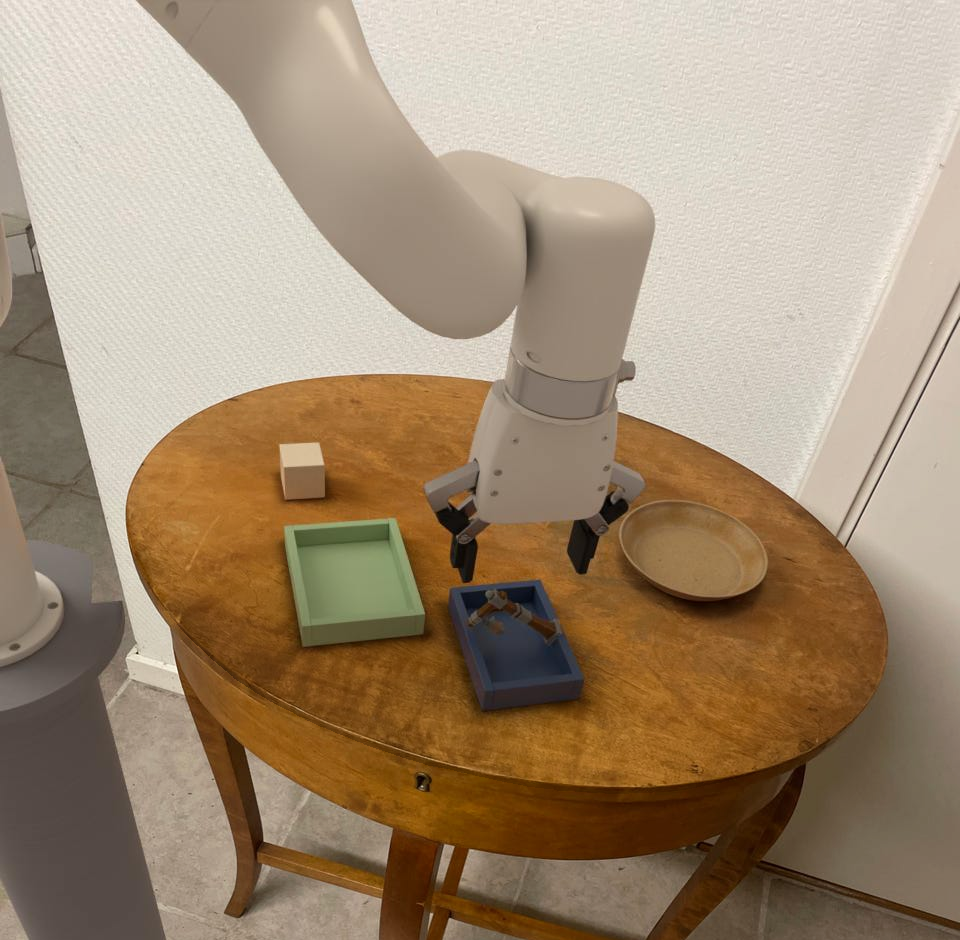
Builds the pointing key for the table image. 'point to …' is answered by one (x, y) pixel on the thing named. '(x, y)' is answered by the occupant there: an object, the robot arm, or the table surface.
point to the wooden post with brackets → (521, 614)
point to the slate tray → (514, 649)
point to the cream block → (302, 470)
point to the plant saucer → (693, 550)
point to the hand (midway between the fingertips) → (520, 567)
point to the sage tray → (352, 582)
